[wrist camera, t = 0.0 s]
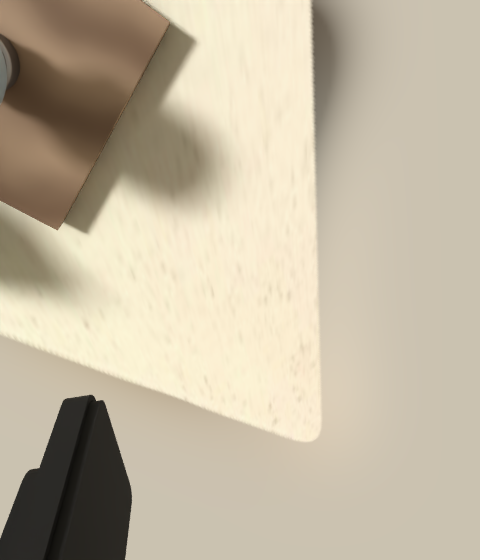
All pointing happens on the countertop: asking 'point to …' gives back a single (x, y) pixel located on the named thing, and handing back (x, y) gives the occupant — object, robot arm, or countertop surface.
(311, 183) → the countertop surface
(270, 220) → the countertop surface
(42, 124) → the thread post
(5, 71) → the lever handle
